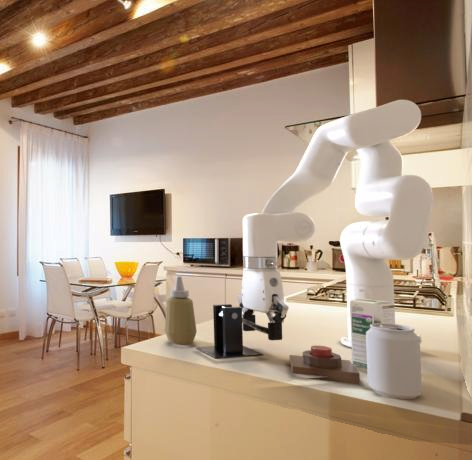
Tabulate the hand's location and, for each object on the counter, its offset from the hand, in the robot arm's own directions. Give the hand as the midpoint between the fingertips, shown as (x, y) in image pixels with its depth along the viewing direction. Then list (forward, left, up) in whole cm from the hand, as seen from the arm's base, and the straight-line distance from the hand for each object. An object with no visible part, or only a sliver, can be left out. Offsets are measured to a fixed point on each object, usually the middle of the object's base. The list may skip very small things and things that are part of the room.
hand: (261, 335), depth 100 cm
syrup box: (-21, +5, -5) cm, 22 cm away
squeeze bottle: (+19, -1, -5) cm, 20 cm away
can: (-21, +19, -5) cm, 29 cm away
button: (-11, +12, -1) cm, 16 cm away
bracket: (+7, +5, -4) cm, 10 cm away
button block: (-11, +12, -4) cm, 17 cm away
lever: (+4, +3, +3) cm, 6 cm away
